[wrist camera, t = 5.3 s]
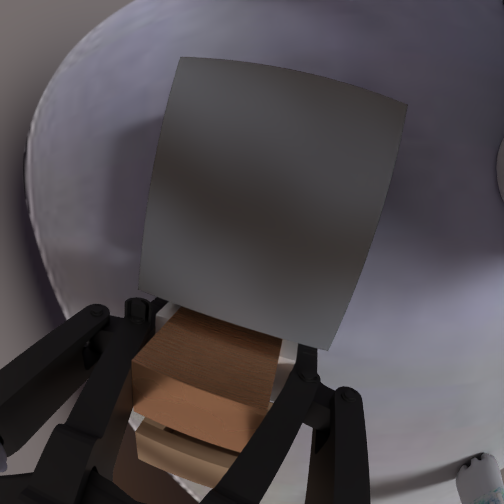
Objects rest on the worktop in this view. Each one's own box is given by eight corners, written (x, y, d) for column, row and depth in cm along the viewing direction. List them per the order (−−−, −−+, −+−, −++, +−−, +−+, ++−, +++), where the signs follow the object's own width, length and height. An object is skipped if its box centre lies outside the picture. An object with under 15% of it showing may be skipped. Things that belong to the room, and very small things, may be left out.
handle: (256, 97, 15) (186, 19, 5) (340, 117, 14) (379, 49, 5) (199, 358, 20) (138, 457, 11) (261, 378, 20) (226, 491, 11)
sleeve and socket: (227, 96, 16) (173, 55, 9) (372, 131, 15) (414, 105, 8) (173, 402, 24) (138, 458, 17) (263, 432, 23) (246, 497, 16)
